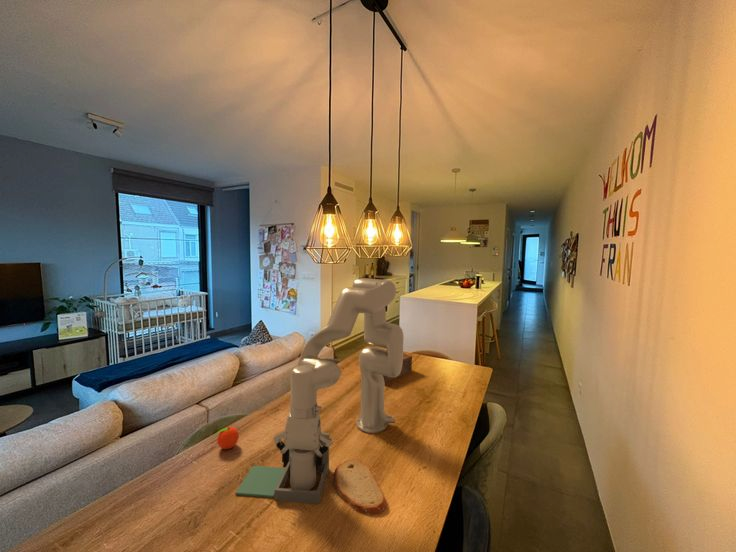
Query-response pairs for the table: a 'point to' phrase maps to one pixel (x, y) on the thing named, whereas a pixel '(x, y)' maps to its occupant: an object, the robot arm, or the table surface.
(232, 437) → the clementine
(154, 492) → the table surface
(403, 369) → the tissue box cover
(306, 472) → the can
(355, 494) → the slice of bread
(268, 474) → the mat
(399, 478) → the table surface
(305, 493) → the grey open box
